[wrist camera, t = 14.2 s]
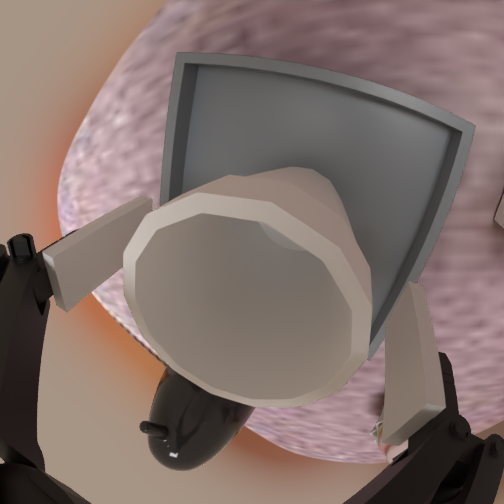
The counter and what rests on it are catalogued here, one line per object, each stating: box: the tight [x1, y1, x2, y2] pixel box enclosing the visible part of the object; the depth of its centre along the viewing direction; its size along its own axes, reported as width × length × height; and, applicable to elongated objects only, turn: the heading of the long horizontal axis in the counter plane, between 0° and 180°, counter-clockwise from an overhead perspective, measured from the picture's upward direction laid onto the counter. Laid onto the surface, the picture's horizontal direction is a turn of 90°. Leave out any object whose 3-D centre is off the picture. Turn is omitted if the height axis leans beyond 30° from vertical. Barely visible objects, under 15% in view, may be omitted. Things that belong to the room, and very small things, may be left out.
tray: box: [160, 52, 476, 361], centre depth 20 cm, size 20×20×3 cm
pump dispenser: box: [139, 365, 255, 471], centre depth 25 cm, size 10×10×15 cm
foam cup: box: [123, 166, 372, 407], centre depth 15 cm, size 10×9×13 cm
